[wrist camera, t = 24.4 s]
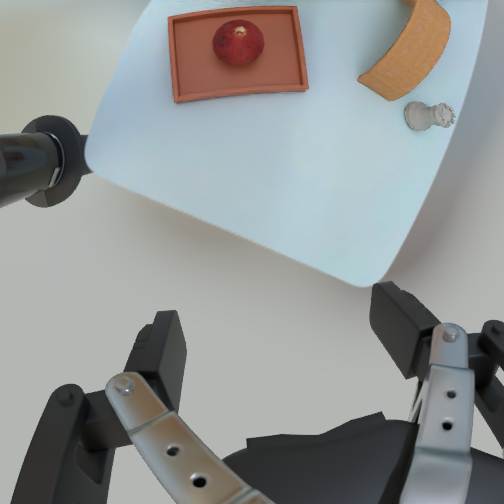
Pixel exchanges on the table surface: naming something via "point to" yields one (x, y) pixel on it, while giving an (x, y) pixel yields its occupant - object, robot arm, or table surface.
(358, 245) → the table surface
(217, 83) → the reddish-brown tray
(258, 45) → the onion
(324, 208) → the table surface
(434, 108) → the rook chess piece
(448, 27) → the arch
